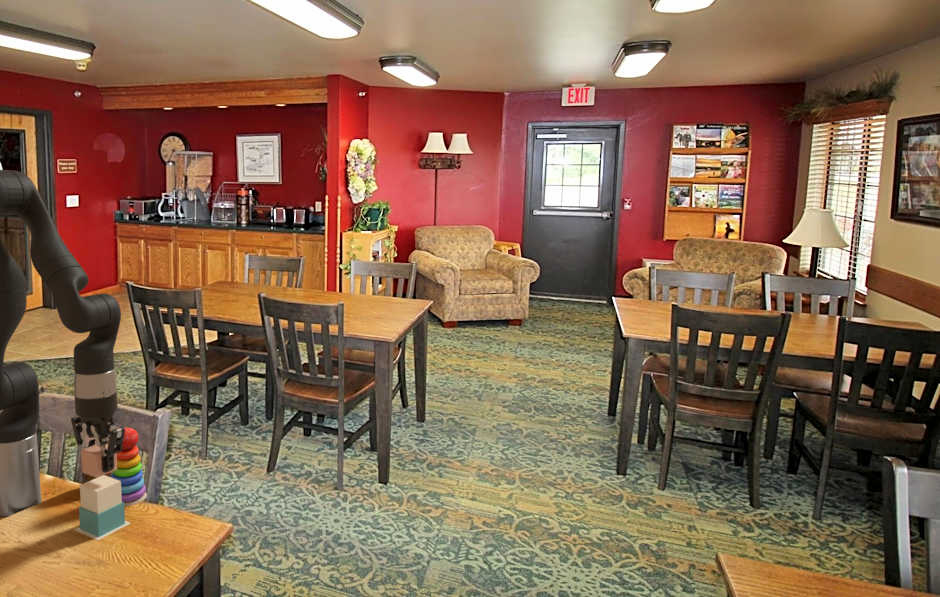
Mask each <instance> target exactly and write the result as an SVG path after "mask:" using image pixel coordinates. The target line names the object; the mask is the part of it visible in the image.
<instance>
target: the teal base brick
mask: <svg viewBox="0 0 940 597" xmlns="http://www.w3.org/2000/svg"><path fill="white" fill-rule="evenodd" d="M78 515H79V516H78V517H79V519H78V520H79V527H80V529H81V530H84V531H86V532H88V533H91V534H93V535H95V536H97V537H100V536H102V535H104V534H106V533H108V532H110V531H112V530H114V529H116V528H118V527H120V526H122V525H124V524H125V521H126V516H125V515H126V514H125V507H124V502H122V503H120V504H118V505H116V506H114V507H112V508H110V509H108V510H106V511H103V512H101V513H99V514H97V513H94V512H92V511H90V510H87V509H85V508H82V507H81V506H78Z"/></svg>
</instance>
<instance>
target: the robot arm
mask: <svg viewBox="0 0 940 597" xmlns="http://www.w3.org/2000/svg"><path fill="white" fill-rule="evenodd" d="M45 204H46V203H45V202H44V200H43V198H42V197H41V194H40V192H39V190H38V189H37V186H36V185H35V184H34V182H33V181H32V179H31V178H30V177H29V175H26V173H24V172H21V171H18V170H14V169H13V170H12V169H0V216H17V217H19V219H20V220H22V222H23V223H24V224H25V225H26V226H27V228H28V231H29V234H30V235H29V236H30V244H29V246H30V250H29V253H30V254H29V255H30V260H31V263H32V265H33V267H34V269H35V271H36V273H37V274H38V275H39V277H40V278H41V279H42V281H43V282H44V283H45V284H46V287H48V288H49V290H50V292H51V295H52V299H53V301H54V304H55V307H56V309H57V310H56V311H57V314H58V316H59V319H60V322H61V323H62V324H63V326H64V327H65V328H66V329H68V330H69V331H71V332H73V333H76V334H84V333H88V332H89V334H88V336H87V337H86V338H85V339H84V340H81V341H79V343H77V344H76V345H75V346H74V348H73V366H74V368H73V369H74V371H73V372H74V377H73V392H74V393H73V394H74V408H75V409H74V410H75V412H74V413H75V415H76V416H74V417H73V416H72V417H70V422H71V426H72V429H73V434H74V437H75V442H76V444H77V446H81V447H82V450H83V449H85V448H88V447H91V446H93V445H97V446H99V447H100V450H101V454H102V456H101V457H102V471H103V472H105V473H106V472H109V471H111V470H113V469H114V454H116V453H118V452H121V451H122V445H123V439H124V434H125V428H126V427H124V426H121V427H118V426H116V422H115V420H114V414H115V413H116V412H117V410H118V390H117V389H118V388H117V377H116V371H115V355H114V354H115V353H114V348H115V345H116V341H117V337H118V333H119V329H120V325H121V321H122V319H121V318H122V311H121V306H120V303H119V302H118V301H117V299H116V298H115V296H113V295H111V294H109V293H96V294H92V295H85V296H81V295H80V292H81V291H83V290H84V289H85V288H86V287H87V286H88V284H89V276H88V274H87V273H86V271H85V270H84V268H83V267H82V266H81V264H80V263H79V262H78V260H77V259H76V257H75V256H74V255H73V254H72V252H71V251H70V250H69V248H68V246H67V245H66V244H65V242H64V240H63V238H62V237H61V235H60V234H59V231H58V228H57V227H56V225H55V223H54V221H53V219H52V217H51V214H50V213H49V211H48V209H47V207H46V205H45ZM27 297H28V296H27V278H26V276H25V274H24V272H23V270H22V268H21V267H20V266H19V264H18V262H17V261H16V260H15V259H14V257H13V256H12V254H11V253H10V252H9V251H8V249H7V247H6V246H5V244H4V242H3V239H2V236H1V234H0V411H1V412H0V517H11V516H13V515H15V514H18V513H20V512H22V511H25V510H27V509H30V508H32V507H34V506H36V505H39V504H41V503H42V490H41V478H40V477H41V476H40V475H41V474H40V462H39V461H40V460H39V447H38V446H39V445H38V435H37V425H38V422H39V420H40V386H39V379H38V376H37V373H36V372H35V369H33V367H32V366H31V365H29V364H28V363H26V362H23V361H16V362H11V363H7V364H4V360H5V353H6V350H7V347H8V344H9V343H10V340H11V339H12V337H13V335H14V333H15V332H16V330H17V329H18V326H19V324H21V322H22V320H23V318H24V315H25V313H26V309H27V303H28V302H27V299H28V298H27ZM106 444H108V449H107V450H106V447H105V445H106ZM115 445H116V446H115Z"/></svg>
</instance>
